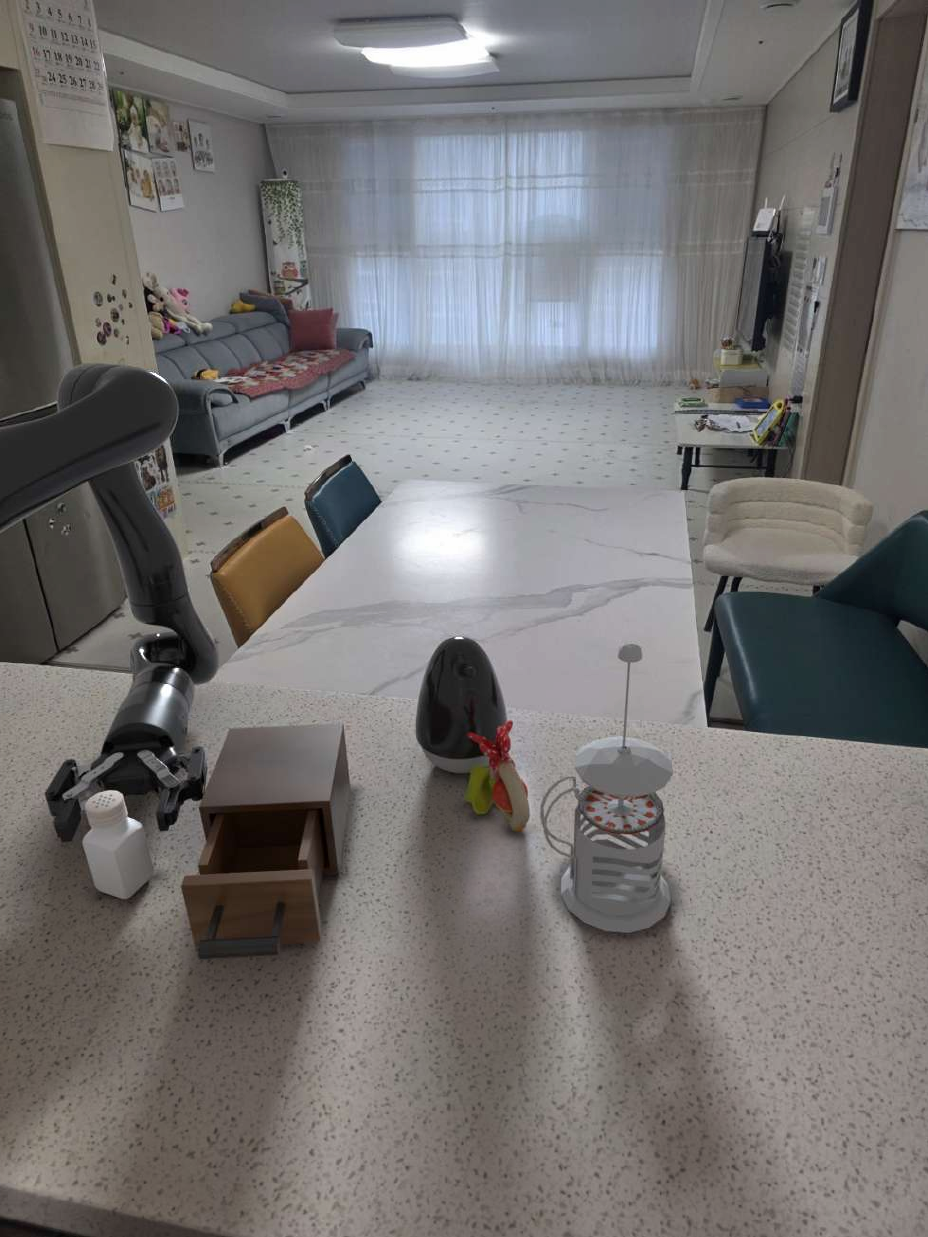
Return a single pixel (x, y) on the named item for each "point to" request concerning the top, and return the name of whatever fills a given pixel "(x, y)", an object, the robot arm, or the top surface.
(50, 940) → the top surface
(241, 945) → the drawer
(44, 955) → the top surface
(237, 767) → the cabinet
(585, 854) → the french press
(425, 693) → the black egg-shaped device
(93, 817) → the pepper shaker
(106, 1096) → the top surface
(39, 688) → the top surface
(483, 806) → the bird rattle
